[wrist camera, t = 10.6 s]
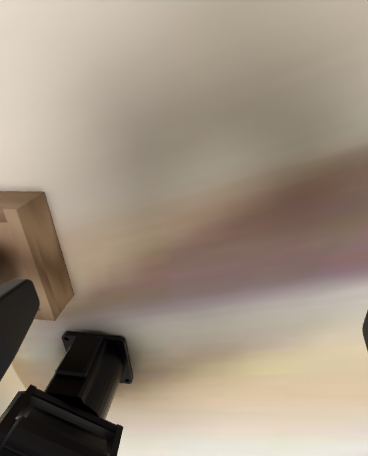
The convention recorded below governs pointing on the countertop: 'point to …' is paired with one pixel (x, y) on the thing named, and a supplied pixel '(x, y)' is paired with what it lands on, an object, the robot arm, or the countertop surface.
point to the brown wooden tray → (33, 250)
